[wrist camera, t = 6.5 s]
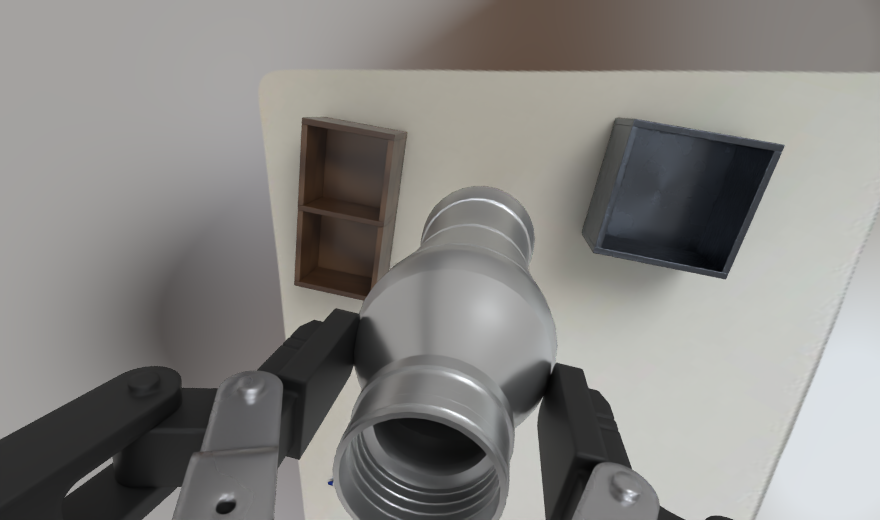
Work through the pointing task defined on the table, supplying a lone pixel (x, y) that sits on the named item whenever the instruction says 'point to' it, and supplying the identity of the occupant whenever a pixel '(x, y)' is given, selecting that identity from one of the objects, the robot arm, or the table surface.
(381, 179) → the divided box
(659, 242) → the dark grey open box
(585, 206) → the table surface
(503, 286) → the silver metal bottle
